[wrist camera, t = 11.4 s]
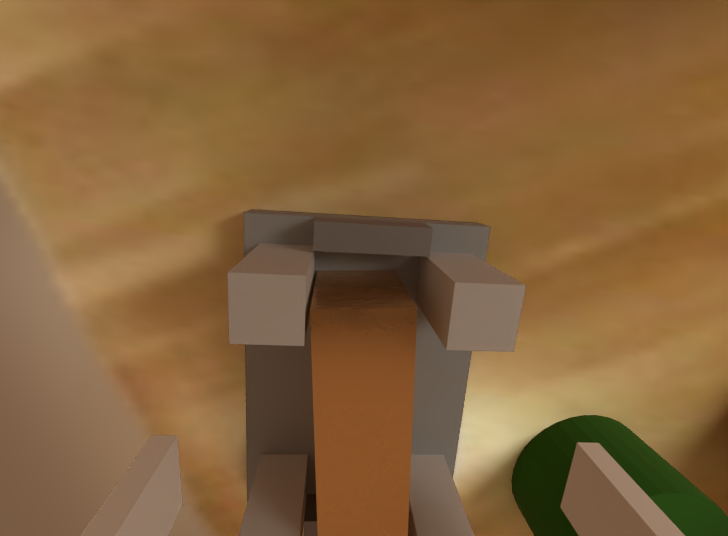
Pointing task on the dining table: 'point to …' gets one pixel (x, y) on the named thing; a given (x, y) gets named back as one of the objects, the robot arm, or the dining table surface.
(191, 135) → the dining table surface
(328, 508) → the block
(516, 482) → the candle
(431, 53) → the dining table surface
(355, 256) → the jig
